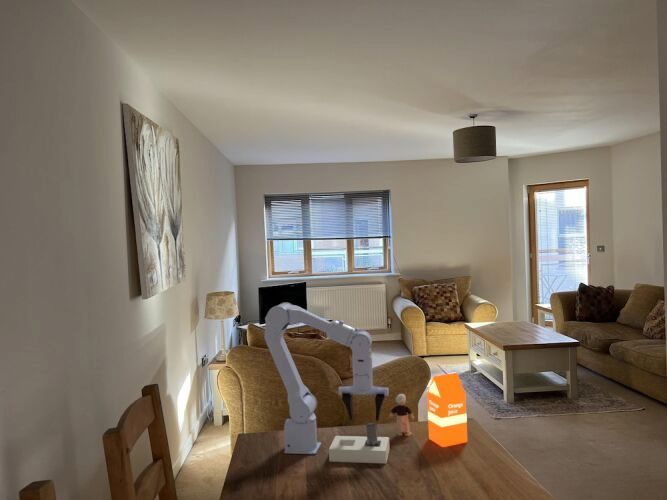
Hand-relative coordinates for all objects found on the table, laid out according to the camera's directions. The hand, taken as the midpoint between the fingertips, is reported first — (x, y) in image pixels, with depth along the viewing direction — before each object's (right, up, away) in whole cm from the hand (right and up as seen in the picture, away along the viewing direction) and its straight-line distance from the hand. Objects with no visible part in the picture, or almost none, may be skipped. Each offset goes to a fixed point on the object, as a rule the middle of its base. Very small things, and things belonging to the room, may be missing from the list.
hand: (364, 419), depth 154 cm
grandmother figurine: (+13, -9, +12) cm, 19 cm away
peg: (+2, -9, -4) cm, 10 cm away
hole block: (-1, -9, -3) cm, 10 cm away
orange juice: (+26, -8, +5) cm, 27 cm away
